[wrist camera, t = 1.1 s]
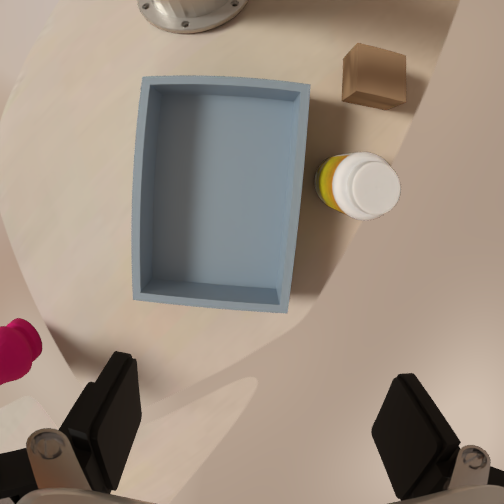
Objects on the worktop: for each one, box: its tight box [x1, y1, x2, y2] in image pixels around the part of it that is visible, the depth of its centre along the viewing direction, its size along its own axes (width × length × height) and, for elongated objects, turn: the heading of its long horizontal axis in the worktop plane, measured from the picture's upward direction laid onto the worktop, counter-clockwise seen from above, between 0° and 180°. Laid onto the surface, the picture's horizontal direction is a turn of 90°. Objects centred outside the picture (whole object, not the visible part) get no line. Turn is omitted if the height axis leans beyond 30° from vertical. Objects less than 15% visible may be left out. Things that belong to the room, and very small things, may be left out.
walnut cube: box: [342, 43, 406, 110], centre depth 27 cm, size 5×5×5 cm
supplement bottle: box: [315, 152, 401, 221], centre depth 27 cm, size 6×6×10 cm
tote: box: [132, 76, 310, 313], centre depth 29 cm, size 21×15×5 cm
